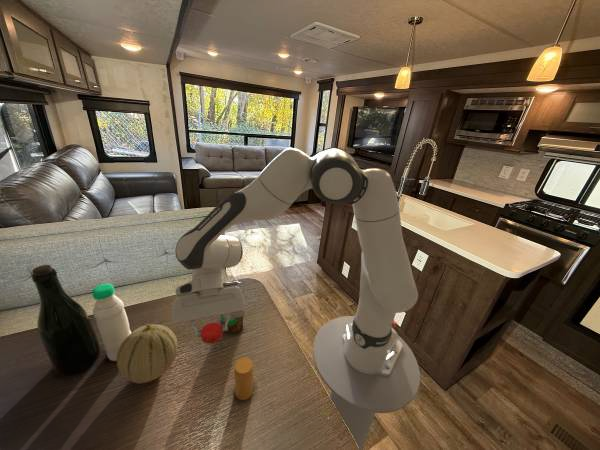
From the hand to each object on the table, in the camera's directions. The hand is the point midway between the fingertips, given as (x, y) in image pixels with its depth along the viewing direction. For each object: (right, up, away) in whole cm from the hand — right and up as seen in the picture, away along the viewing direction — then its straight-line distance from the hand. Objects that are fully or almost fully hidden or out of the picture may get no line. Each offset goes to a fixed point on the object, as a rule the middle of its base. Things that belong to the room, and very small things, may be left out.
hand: (211, 333), depth 70 cm
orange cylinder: (+10, -16, -1) cm, 18 cm away
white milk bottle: (-31, -9, +7) cm, 33 cm away
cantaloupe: (-18, -12, +3) cm, 22 cm away
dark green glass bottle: (-41, -10, +3) cm, 42 cm away
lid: (0, +1, 0) cm, 1 cm away
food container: (-1, -6, +19) cm, 20 cm away
